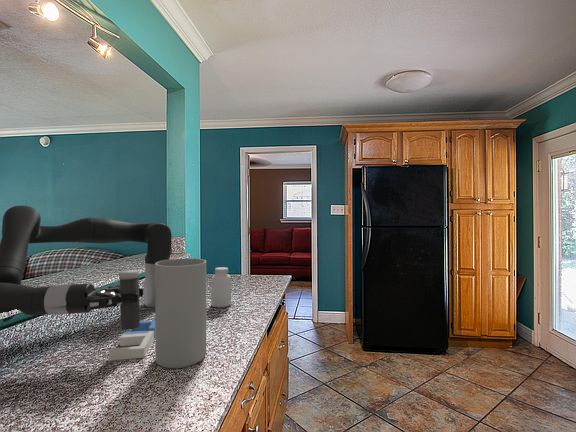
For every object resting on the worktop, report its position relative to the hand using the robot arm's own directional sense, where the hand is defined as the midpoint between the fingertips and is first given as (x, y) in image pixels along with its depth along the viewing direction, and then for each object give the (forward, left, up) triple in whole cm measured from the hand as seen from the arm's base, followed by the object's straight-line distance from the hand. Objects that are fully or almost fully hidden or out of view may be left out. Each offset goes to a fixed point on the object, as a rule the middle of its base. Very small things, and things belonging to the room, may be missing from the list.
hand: (140, 294), depth 85 cm
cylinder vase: (+13, +3, -15) cm, 20 cm away
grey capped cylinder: (-2, -2, -9) cm, 9 cm away
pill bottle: (-11, +42, -15) cm, 46 cm away
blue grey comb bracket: (-5, +2, -15) cm, 16 cm away
